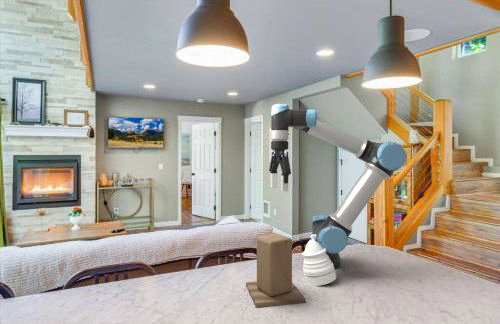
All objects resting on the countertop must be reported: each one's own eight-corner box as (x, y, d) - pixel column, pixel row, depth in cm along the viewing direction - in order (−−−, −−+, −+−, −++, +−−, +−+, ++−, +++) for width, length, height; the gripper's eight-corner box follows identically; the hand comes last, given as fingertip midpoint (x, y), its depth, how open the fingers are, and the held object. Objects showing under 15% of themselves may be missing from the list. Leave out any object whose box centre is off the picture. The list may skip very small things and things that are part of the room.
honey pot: (317, 272, 143) (307, 232, 143) (342, 274, 133) (331, 231, 134) (299, 284, 134) (289, 241, 134) (325, 287, 124) (313, 241, 125)
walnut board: (246, 286, 128) (246, 282, 128) (289, 282, 131) (289, 278, 131) (255, 307, 110) (255, 303, 110) (305, 302, 114) (305, 298, 114)
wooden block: (293, 291, 119) (293, 238, 119) (271, 298, 114) (271, 242, 113) (276, 282, 128) (276, 232, 127) (255, 288, 122) (255, 235, 122)
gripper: (299, 139, 129) (298, 192, 129) (277, 141, 153) (277, 186, 153) (282, 139, 127) (281, 193, 127) (262, 141, 151) (262, 186, 151)
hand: (279, 189), depth 140 cm, fingers open, 13 cm apart
